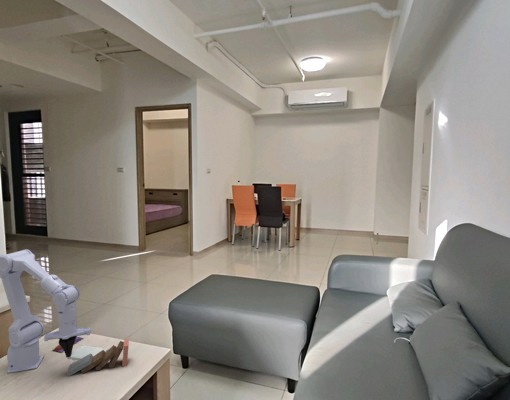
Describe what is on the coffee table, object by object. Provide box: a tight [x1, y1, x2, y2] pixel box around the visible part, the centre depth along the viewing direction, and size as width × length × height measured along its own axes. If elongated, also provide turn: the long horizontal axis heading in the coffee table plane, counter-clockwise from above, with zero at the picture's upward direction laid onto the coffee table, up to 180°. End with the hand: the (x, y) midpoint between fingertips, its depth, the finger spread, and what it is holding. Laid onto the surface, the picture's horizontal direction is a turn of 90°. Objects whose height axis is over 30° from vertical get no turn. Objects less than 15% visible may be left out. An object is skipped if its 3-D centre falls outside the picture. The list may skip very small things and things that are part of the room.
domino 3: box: [95, 344, 117, 371], centre depth 117 cm, size 2×5×8 cm
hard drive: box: [67, 345, 110, 361], centre depth 125 cm, size 2×8×12 cm
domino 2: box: [80, 350, 106, 374], centre depth 116 cm, size 2×5×8 cm
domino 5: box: [122, 338, 130, 367], centre depth 120 cm, size 2×5×8 cm, turn 19°
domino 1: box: [66, 353, 93, 377], centre depth 115 cm, size 2×5×8 cm
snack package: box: [52, 336, 84, 353], centre depth 132 cm, size 12×2×5 cm
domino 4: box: [108, 340, 124, 369], centre depth 119 cm, size 2×5×8 cm, turn 19°
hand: (68, 355), depth 113 cm, fingers closed
